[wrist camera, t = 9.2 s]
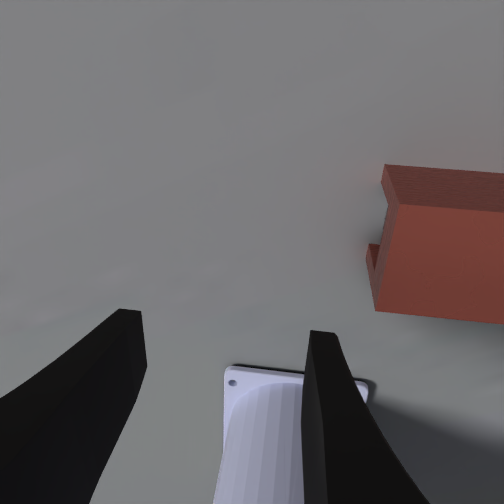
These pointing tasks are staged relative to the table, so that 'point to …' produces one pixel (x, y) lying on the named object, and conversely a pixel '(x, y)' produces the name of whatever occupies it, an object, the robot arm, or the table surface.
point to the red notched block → (440, 245)
